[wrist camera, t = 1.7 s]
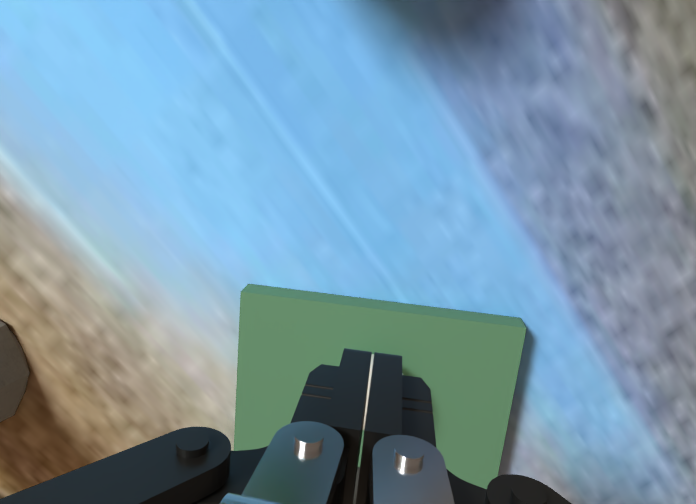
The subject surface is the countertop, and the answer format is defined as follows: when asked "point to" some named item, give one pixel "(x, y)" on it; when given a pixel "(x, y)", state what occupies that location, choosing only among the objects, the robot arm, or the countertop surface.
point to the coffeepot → (11, 373)
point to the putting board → (390, 338)
